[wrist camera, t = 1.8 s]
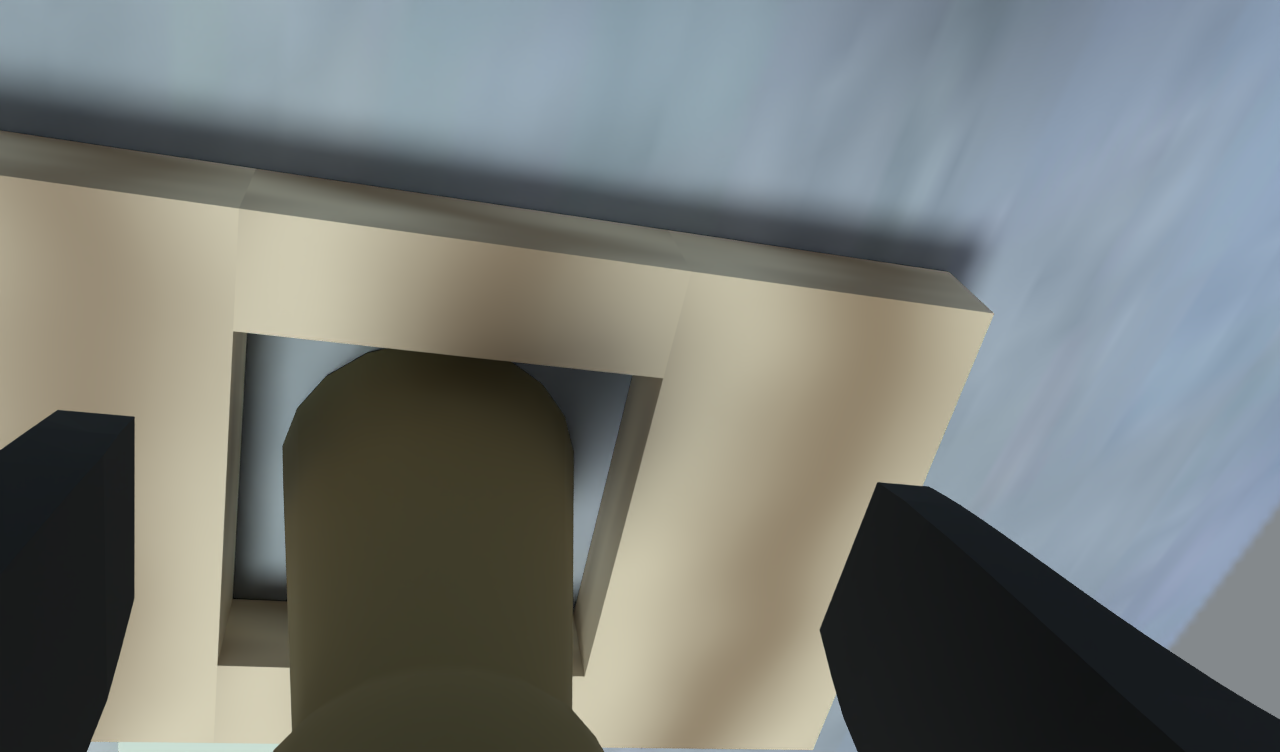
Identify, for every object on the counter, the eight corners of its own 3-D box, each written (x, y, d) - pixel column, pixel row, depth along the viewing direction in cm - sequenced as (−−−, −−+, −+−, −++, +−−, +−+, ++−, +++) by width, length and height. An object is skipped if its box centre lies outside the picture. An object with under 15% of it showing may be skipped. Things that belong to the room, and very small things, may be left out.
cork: (612, 520, 23) (738, 1014, 14) (363, 616, 24) (324, 1171, 14) (510, 297, 20) (586, 741, 11) (223, 408, 20) (55, 944, 11)
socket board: (-83, 664, 22) (-126, 739, 20) (-155, 107, 17) (-221, 144, 15) (787, 689, 27) (812, 749, 26) (949, 271, 22) (994, 313, 20)
